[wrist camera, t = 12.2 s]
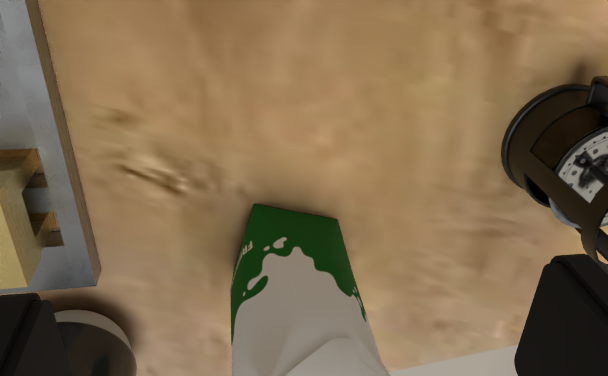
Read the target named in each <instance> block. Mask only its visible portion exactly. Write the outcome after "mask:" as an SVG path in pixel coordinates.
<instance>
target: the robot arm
mask: <svg viewBox="0 0 608 376" xmlns="http://www.w3.org/2000/svg"><path fill="white" fill-rule="evenodd" d="M514 361H515V368H516V372H517V374H518V376H608V274H607V273H606V272H605V271H604V270H603V269H602V268H601V267H600V266H599V265H598V264H597V263H596V262H595V261H594V260H593V259H592V258H591V257H590V256H589V255H586V254H574V255H560V256H555V257H554V258H553V259H552V260H551V262H550V264H547V265H545V266H544V268H543V271H542V274H541V277H540V280H539V283H538V286H537V289H536V293H535V296H534V299H533V302H532V305H531V308H530V311H529V314H528V317H527V320H526V323H525V326H524V330H523V333H522V336H521V339H520V342H519V345H518V348H517V352H516V354H515V359H514ZM0 376H73V374H72V371H71V368H70V365H69V361H68V358H67V355H66V351H65V348H64V345H63V341H62V338H61V335H60V332H59V328H58V325H57V322H56V318H55V315H54V312H53V309H52V305H51V303H50V302H49V301H48V300H45V301H41V299H40V297H39V295H38V294H37V293H26V294H12V295H1V296H0Z"/></svg>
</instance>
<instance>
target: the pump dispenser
mask: <svg viewBox="0 0 608 376" xmlns="http://www.w3.org/2000/svg"><path fill="white" fill-rule="evenodd" d="M54 315H55V318H56V322H57V325H58V328H59V332H60V335H61V338H62V341H63V345H64V348H65V351H66V355H67V358H68V361H69V365H70V368H71V371H72V374H73V376H136V373H137V365H136V360H135V357H134V355H133V353H132V349H131V346H130V343H129V341H128V339H127V337H126V335H125V333H124V332H123V331H122V330H121V328H120V327H119V326H118V325H117V324H115V323H114V322H113V321H112V320H110V319H109V318H107V317H105V316H103V315H101V314H98V313H95V312H91V311H86V310H65V311H60V312H56V313H54Z"/></svg>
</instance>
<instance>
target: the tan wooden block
mask: <svg viewBox="0 0 608 376" xmlns="http://www.w3.org/2000/svg"><path fill="white" fill-rule="evenodd" d="M39 165H40V164H39V161H38V157H37V153H36V150H35V148H30V149H10V150H0V289H9V288H22V287H28V285H29V283H30V281H31V279H32V277H33V275H34V273H35V271H36V268H37V266H38V264H39V262H40V260H41V256H40V254H41V252H42V250H43V248H44V246H45V244H46V242H47V240H48V238H49V236H50V234H51V232H52V229H53V227H54V225H55V223H56V222H55V219H54V215H53V212H44V213H29V214H27V210H26V207H25V204H24V200H23V197H22V194H21V193H22V191H23V190H24V188H25V187H26V185H27V184H28V182H29V180H30V179H31V177H32V176H33V174H34V173H35V171H36V169H37V168H38V166H39Z"/></svg>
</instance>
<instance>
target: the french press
mask: <svg viewBox="0 0 608 376" xmlns="http://www.w3.org/2000/svg"><path fill="white" fill-rule="evenodd" d="M587 106H588V107H589V108H591V109H593V110H594V111H596V112H597V114H598V116H599V118H600V121H601V127H598V128H596V129H594V130H592V131H590V132H588V133H586V134H585V135H583V136H582V137H580V138H579V139H578V140H576V141H575V142H574V143H573V144H572V145H571V146H569V147H568V148H567V149H566V150H565V152H564V153H563V154H562V155H561V156H560V157H559V159H558V160H557V162H556V163H555V165H554V166H553V168H552V169H551V168H550V167H549V166H547V165H546V164H545V163H544V162H543V161H542V160H541V159H540V158H538V157H537V156H536V155H535V154H534V153H533V152H532V149H533V148H534V146H535V144H536V142H537V141H538V140H539V138H540V137H541V136H542V135H543V133H544V132H545V131H546V130H547V129H548V128H549V127H550V126H551V125H552V124H554V123H555V122H556V121H558V120H559V119H561V118H562V117H563V116H565V115H567V114H569V113H571V112H573V111H575V110H578V109H581V108H584V107H587ZM501 154H502V163H503V166H504V169H505V172H506V173H507V175H508V176H509V178H510V179H511V180H512V181H513V182H514V183H515V184H516V185H517V186H519V187H521V188H522V189H524V190H525V191H526V192H527V193H528V194H529V195H530V196H531V197H532V198H533V199H534V200H535V201H537V202H538V203H539V204H541V205H543V206H545V207H549V208H551V209H552V211H553V213H554V214H555V216H556V217H557V218H558V219H559V220H560V221H561V222H562V223H564V224H566V225H568V226H571V227H574V228H575V229H576V230H577V231H578V232H579V233H580V234H581V241H582V244H583V248H584V250H585V251H586V253H587V254H588V255H589V256H590V257H591V258H592V259H593V260H594V261H595V262H596V263H597V264H598V265H599V266H600V267H601V268H602V269H603V270H604V271H605V272H606V273H607V274H608V264H605V263H603V262H601V261H599V259H598V256H597V252H596V250H597V251H598V252H599V253H600V254H601V255H602V256H603V257H604V258H605V259H606V260H607V261H608V235H607V234H606V233H605V232H604V231H603V230H601V229H600V228H599V227H602V226H606V225H608V76H596V77H594V78H593V79H592V82H591V85H590V86H587V85H578V84H572V85H564V86H560V87H557V88H554V89H550V90H548V91H546V92H545V93H543V94H541V95H539V96H537V97H536V98H535V99H533V100H532V101H530V102H529V103H528V104H527V105H526V106H525V107H524V108H523V109H522V110H521V111H520V112H519V113H518V114H517V115H516V117H515V118H514V119H513V121H512V122H511V124H510V126H509V128H508V130H507V132H506V134H505V137H504V140H503V144H502V152H501Z"/></svg>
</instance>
